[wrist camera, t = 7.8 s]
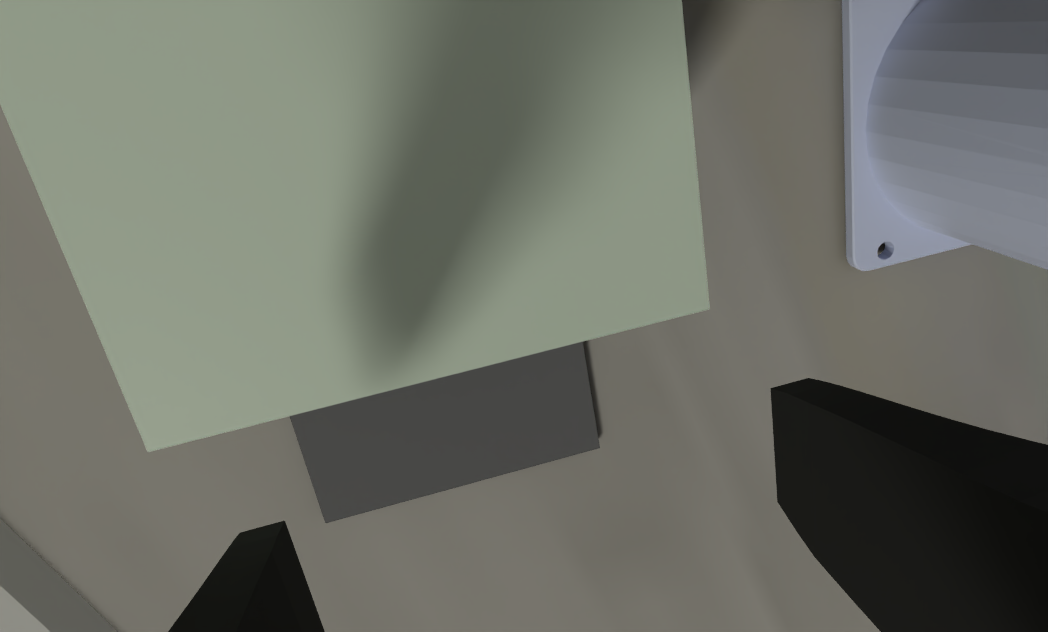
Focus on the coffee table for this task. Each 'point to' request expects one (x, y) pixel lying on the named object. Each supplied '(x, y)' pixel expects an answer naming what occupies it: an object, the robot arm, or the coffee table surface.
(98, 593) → the coffee table surface
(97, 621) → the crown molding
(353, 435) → the dark grey flat block
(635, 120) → the tunnel
